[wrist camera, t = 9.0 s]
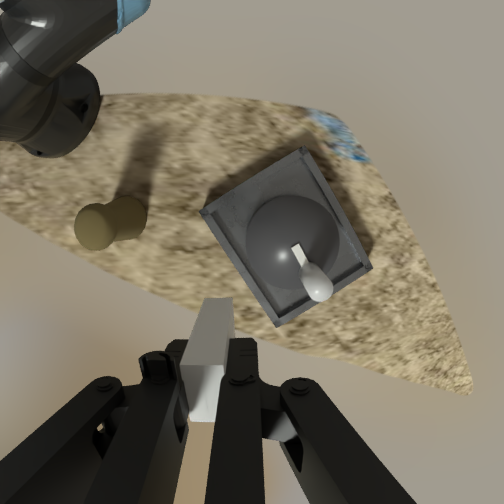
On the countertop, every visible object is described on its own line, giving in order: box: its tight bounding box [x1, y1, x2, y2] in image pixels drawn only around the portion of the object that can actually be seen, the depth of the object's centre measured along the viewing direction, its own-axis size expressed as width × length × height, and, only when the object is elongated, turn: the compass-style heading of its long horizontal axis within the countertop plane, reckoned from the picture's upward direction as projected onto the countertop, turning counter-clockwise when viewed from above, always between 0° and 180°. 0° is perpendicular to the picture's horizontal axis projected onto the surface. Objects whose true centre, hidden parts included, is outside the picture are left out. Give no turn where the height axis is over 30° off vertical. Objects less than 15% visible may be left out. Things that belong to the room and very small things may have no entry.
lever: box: [246, 195, 340, 302], centre depth 33 cm, size 11×11×9 cm
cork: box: [74, 196, 147, 251], centre depth 34 cm, size 6×6×11 cm
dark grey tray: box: [199, 145, 373, 328], centre depth 39 cm, size 18×15×3 cm
